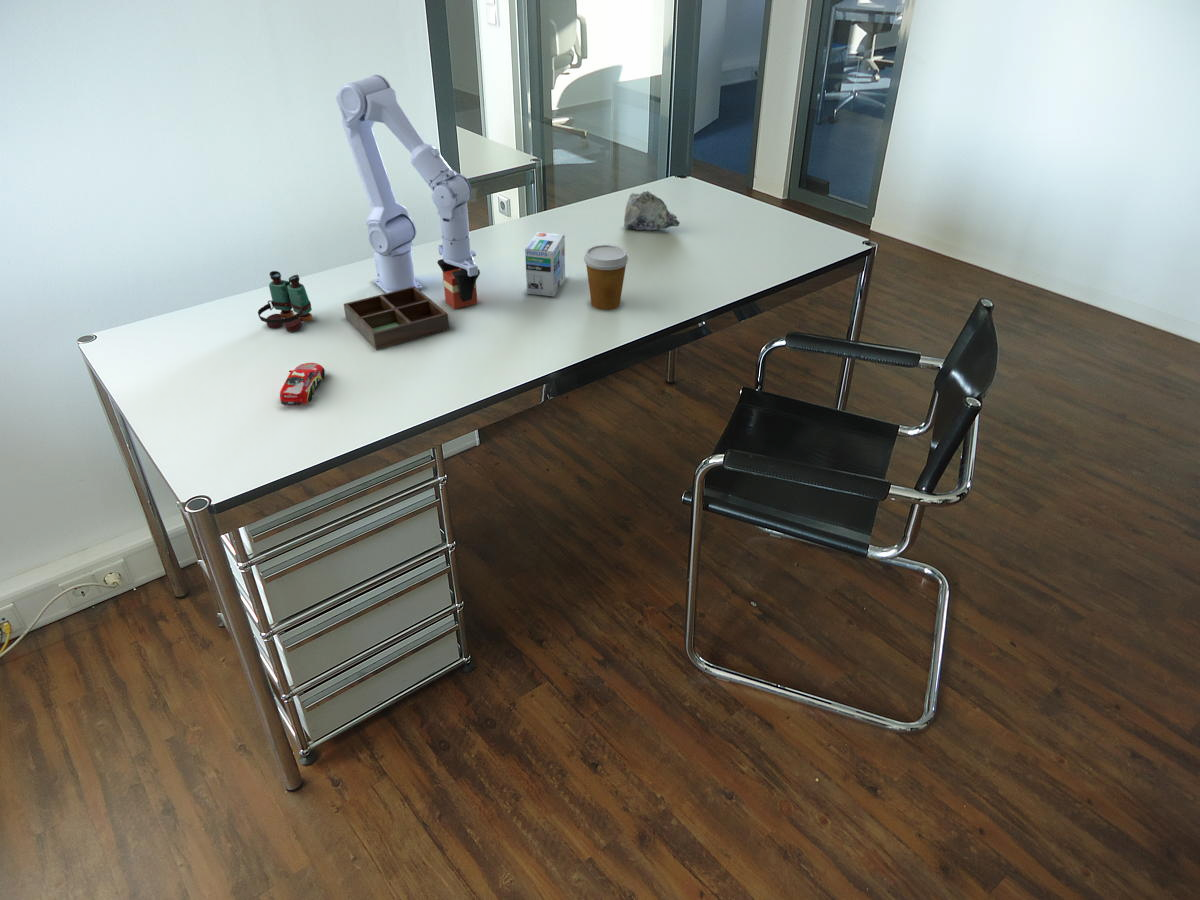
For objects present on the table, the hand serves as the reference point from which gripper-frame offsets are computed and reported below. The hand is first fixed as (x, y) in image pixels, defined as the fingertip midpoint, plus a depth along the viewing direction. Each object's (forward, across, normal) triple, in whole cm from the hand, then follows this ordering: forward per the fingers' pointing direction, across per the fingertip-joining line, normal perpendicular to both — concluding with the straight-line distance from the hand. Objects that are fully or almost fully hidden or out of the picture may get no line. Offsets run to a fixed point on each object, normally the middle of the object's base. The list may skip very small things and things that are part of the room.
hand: (460, 295), depth 187 cm
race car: (+2, -17, +41) cm, 44 cm away
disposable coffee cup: (+2, -18, -26) cm, 32 cm away
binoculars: (+2, +10, +35) cm, 36 cm away
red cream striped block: (+2, 0, 0) cm, 2 cm away
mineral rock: (+2, +12, -61) cm, 62 cm away
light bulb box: (+2, -3, -20) cm, 20 cm away
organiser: (+2, -2, +16) cm, 16 cm away
